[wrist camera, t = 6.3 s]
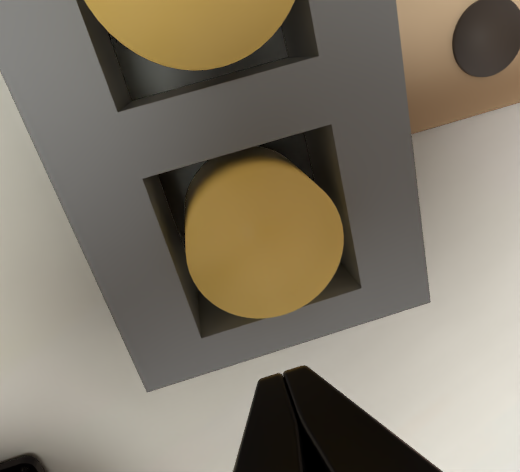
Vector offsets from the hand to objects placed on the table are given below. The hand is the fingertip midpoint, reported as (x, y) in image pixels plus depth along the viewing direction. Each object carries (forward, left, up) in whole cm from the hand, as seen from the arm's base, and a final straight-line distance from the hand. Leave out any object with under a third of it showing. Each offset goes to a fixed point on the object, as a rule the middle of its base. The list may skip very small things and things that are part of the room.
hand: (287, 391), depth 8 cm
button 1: (0, -1, -11) cm, 11 cm away
